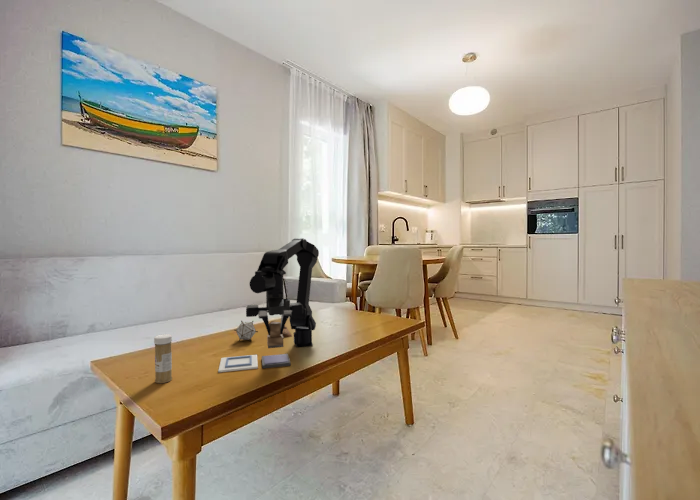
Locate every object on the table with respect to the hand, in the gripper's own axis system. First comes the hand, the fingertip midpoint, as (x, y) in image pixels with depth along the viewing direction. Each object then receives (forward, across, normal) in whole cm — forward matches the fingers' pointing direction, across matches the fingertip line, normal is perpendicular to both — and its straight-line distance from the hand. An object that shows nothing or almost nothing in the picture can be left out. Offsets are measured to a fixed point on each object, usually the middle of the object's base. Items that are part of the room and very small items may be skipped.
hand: (275, 334), depth 116 cm
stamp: (+4, 0, 0) cm, 4 cm away
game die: (+10, -10, +29) cm, 32 cm away
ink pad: (+10, 0, 0) cm, 10 cm away
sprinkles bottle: (+10, -33, -6) cm, 35 cm away
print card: (+10, -12, +2) cm, 15 cm away
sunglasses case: (+10, +5, +37) cm, 39 cm away
